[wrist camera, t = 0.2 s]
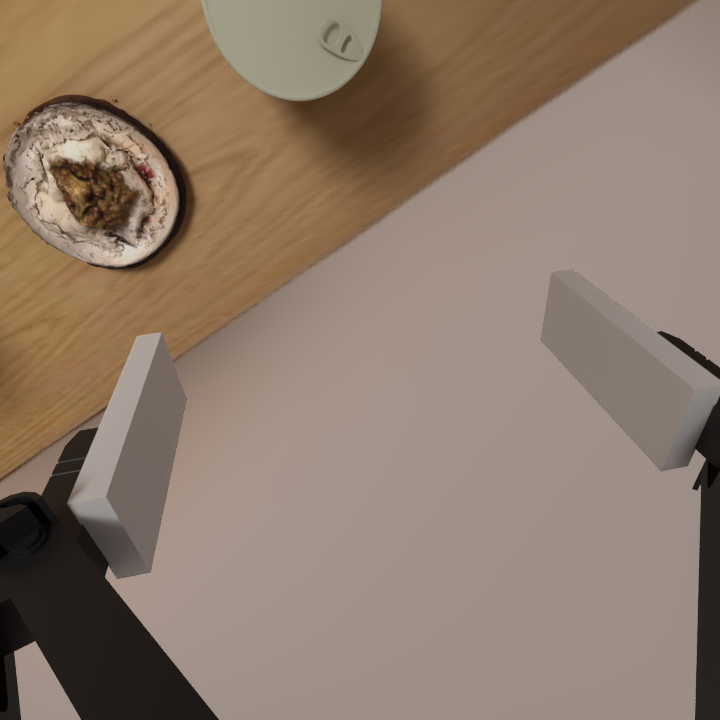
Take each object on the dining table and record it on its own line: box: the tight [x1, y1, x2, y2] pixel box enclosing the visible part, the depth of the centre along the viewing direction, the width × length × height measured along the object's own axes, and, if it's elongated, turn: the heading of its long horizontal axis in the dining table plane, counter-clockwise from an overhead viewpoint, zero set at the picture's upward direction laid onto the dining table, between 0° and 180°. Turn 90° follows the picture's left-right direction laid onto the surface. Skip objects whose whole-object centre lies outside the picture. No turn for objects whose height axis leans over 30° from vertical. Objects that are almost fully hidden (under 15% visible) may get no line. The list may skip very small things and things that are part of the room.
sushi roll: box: [2, 95, 186, 269], centre depth 36 cm, size 15×15×4 cm
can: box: [201, 0, 382, 101], centre depth 28 cm, size 9×9×12 cm
